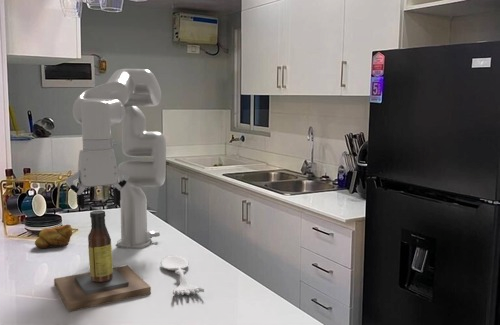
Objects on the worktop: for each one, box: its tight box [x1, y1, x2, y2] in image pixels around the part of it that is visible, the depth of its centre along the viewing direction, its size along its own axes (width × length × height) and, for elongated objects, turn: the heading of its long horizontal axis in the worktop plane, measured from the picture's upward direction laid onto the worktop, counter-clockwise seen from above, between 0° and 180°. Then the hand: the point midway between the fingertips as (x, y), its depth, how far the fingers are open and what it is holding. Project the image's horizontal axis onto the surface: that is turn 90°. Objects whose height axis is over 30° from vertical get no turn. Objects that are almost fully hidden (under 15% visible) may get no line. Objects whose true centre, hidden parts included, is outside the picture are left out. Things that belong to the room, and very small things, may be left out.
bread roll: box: [34, 224, 73, 249], centre depth 174 cm, size 13×10×8 cm
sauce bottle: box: [87, 210, 114, 282], centre depth 133 cm, size 6×6×20 cm
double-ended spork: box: [160, 255, 205, 296], centre depth 143 cm, size 9×32×4 cm, turn 17°
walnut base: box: [53, 264, 152, 313], centre depth 135 cm, size 22×20×3 cm
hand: (99, 205), depth 132 cm, fingers open, 9 cm apart
